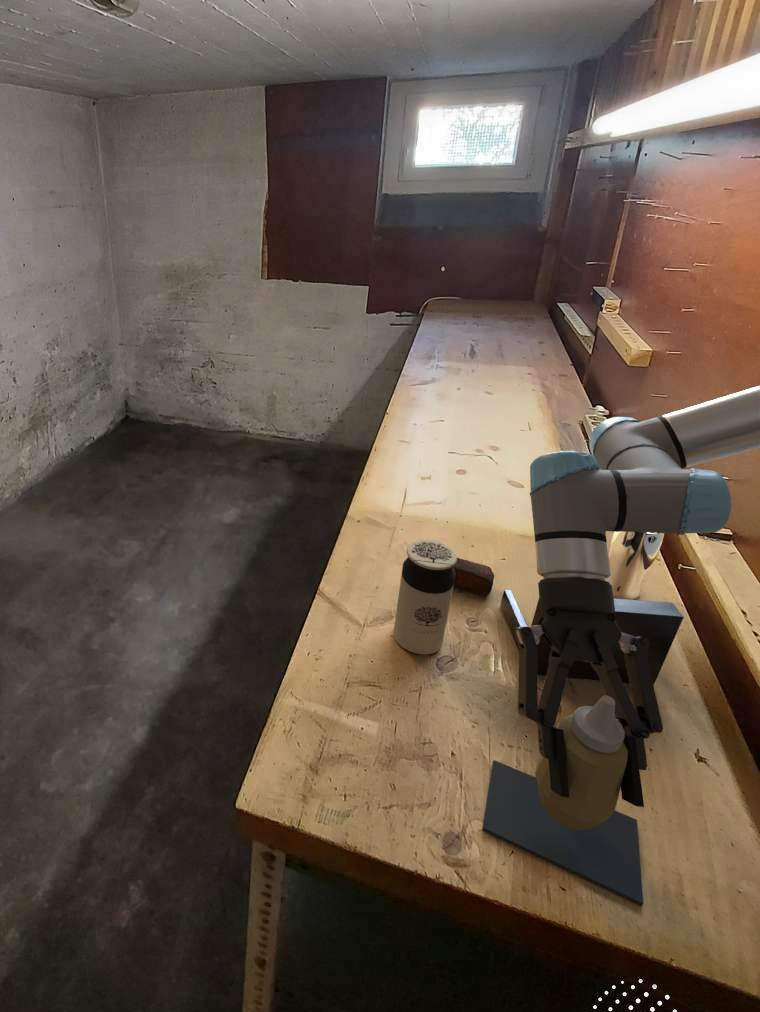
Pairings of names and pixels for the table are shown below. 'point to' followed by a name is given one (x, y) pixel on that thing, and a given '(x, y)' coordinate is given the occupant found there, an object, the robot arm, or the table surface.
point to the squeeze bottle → (587, 767)
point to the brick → (473, 577)
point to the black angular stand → (631, 618)
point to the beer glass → (631, 561)
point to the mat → (564, 835)
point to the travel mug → (424, 596)
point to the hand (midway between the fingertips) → (596, 797)
